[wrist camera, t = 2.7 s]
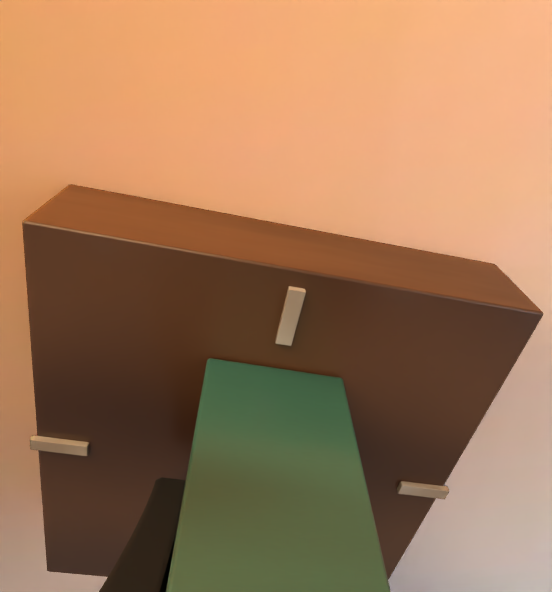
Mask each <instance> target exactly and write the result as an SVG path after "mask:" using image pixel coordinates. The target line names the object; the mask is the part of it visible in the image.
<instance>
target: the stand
mask: <svg viewBox="0 0 552 592" xmlns="http://www.w3.org/2000/svg"><path fill="white" fill-rule="evenodd" d="M22 225H23V239H24V253H25V267H26V281H27V295H28V309H29V323H30V337H31V351H32V365H33V379H34V393H35V407H36V421H37V435H38V436H34V435H32V437H31V438H30V449H31V450H39V463H40V477H41V491H42V505H43V519H44V533H45V547H46V561H47V571H50V572H61V573H72V574H83V575H95V576H106V577H108V576H109V575H110V573H111V571H112V570H113V568H114V566H115V564H116V563H117V561H118V559H119V557H120V555H121V554H122V552H123V550H124V548H125V546H126V545H127V543H128V541H129V539H130V537H131V536H132V534H133V532H134V530H135V528H136V526H137V524H138V522H139V520H140V518H141V516H142V513H143V511H144V509H145V507H146V505H147V502H148V500H149V497H150V495H151V493H152V490H153V487H154V484H155V481H156V480H157V479H159V478H161V477H163V478H172V479H180V480H186V475H187V470H188V464H189V459H190V453H191V447H192V442H193V436H194V430H195V425H196V419H197V413H198V408H199V402H200V396H201V391H202V385H203V380H204V374H205V368H206V363H207V360H208V359H209V358H213V359H220V360H226V361H233V362H240V363H246V364H253V365H260V366H266V367H273V368H279V369H286V370H293V371H299V372H306V373H313V374H319V375H326V376H333V377H339V378H342V379H343V382H344V387H345V391H346V396H347V400H348V405H349V409H350V414H351V418H352V422H353V427H354V431H355V436H356V440H357V445H358V449H359V454H360V458H361V463H362V467H363V471H364V476H365V480H366V485H367V489H368V494H369V498H370V503H371V507H372V512H373V516H374V521H375V525H376V529H377V534H378V538H379V543H380V547H381V552H382V556H383V561H384V565H385V570H386V574H387V578H388V579H389V578H390V576H391V574H392V573H393V571H394V569H395V567H396V566H397V564H398V562H399V561H400V559H401V557H402V556H403V554H404V552H405V550H406V549H407V547H408V545H409V544H410V542H411V540H412V538H413V537H414V535H415V533H416V532H417V530H418V528H419V526H420V525H421V523H422V521H423V520H424V518H425V516H426V514H427V513H428V511H429V509H430V508H431V506H432V504H433V503H434V501H435V499H436V498H438V499H445V498H446V496H447V495H448V493H449V489H448V487H446V486H443V485H444V484H445V482H446V480H447V479H448V477H449V475H450V473H451V472H452V470H453V468H454V467H455V465H456V463H457V461H458V460H459V458H460V456H461V455H462V453H463V451H464V449H465V448H466V446H467V444H468V443H469V441H470V439H471V438H472V436H473V434H474V432H475V431H476V429H477V427H478V426H479V424H480V422H481V420H482V419H483V417H484V415H485V414H486V412H487V410H488V408H489V407H490V405H491V403H492V402H493V400H494V398H495V396H496V395H497V393H498V391H499V390H500V388H501V386H502V385H503V383H504V381H505V379H506V378H507V376H508V374H509V373H510V371H511V369H512V367H513V366H514V364H515V362H516V361H517V359H518V357H519V355H520V354H521V352H522V350H523V349H524V347H525V345H526V343H527V342H528V340H529V338H530V337H531V335H532V333H533V332H534V330H535V328H536V326H537V325H538V323H539V321H540V320H541V318H542V316H543V312H542V311H541V310H540V309H539V308H538V307H537V306H536V305H535V304H534V303H533V302H532V301H531V300H530V299H529V298H528V297H527V296H526V295H525V294H524V293H523V292H522V291H521V290H520V289H519V288H518V287H517V286H516V285H515V284H514V283H513V282H512V281H511V280H510V279H509V278H508V277H507V276H506V275H505V274H504V273H503V272H502V271H501V270H500V269H499V268H498V267H497V266H496V265H495V264H491V263H486V262H480V261H475V260H470V259H464V258H459V257H454V256H448V255H443V254H438V253H432V252H427V251H422V250H417V249H411V248H406V247H401V246H395V245H390V244H385V243H379V242H374V241H369V240H363V239H358V238H353V237H347V236H342V235H337V234H332V233H326V232H321V231H316V230H310V229H305V228H300V227H294V226H289V225H284V224H278V223H273V222H268V221H262V220H257V219H252V218H247V217H241V216H236V215H231V214H225V213H220V212H215V211H209V210H204V209H199V208H193V207H188V206H183V205H177V204H172V203H167V202H162V201H156V200H151V199H146V198H140V197H135V196H130V195H124V194H119V193H114V192H108V191H103V190H98V189H92V188H87V187H82V186H76V185H68V186H67V187H66V188H64V189H63V190H62V191H61V192H59V193H58V194H57V195H55V196H54V197H53V198H52V199H50V200H49V201H48V202H46V203H45V204H44V205H43V206H41V207H40V208H39V209H37V210H36V211H35V212H34V213H32V214H31V215H30V216H29V217H27V218H26V219H25V220H23V223H22Z"/></svg>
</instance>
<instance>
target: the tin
mask: <svg viewBox="0 0 552 592" xmlns="http://www.w3.org/2000/svg"><path fill="white" fill-rule="evenodd" d="M166 592H390V587H389V583H388V578H387V574H386V570H385V565H384V561H383V556H382V552H381V547H380V543H379V538H378V534H377V529H376V525H375V521H374V516H373V512H372V507H371V503H370V498H369V494H368V489H367V485H366V480H365V476H364V471H363V467H362V463H361V458H360V454H359V449H358V445H357V440H356V436H355V431H354V427H353V422H352V418H351V414H350V409H349V405H348V400H347V396H346V391H345V387H344V382H343V379H342V378H339V377H333V376H326V375H319V374H313V373H306V372H299V371H293V370H286V369H279V368H273V367H266V366H260V365H253V364H246V363H240V362H233V361H226V360H220V359H213V358H209V359H208V360H207V363H206V368H205V374H204V380H203V385H202V391H201V396H200V402H199V408H198V413H197V419H196V425H195V430H194V436H193V442H192V447H191V453H190V459H189V464H188V470H187V475H186V481H185V487H184V492H183V498H182V504H181V509H180V515H179V521H178V526H177V532H176V538H175V543H174V549H173V554H172V560H171V566H170V571H169V577H168V583H167V588H166Z"/></svg>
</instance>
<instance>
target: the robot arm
mask: <svg viewBox="0 0 552 592" xmlns="http://www.w3.org/2000/svg"><path fill="white" fill-rule="evenodd" d="M185 481H186V480H180V479H172V478H163V477H161V478H159V479H157V480H156V481H155V484H154V487H153V490H152V493H151V495H150V497H149V500H148V502H147V505H146V507H145V509H144V511H143V513H142V516H141V518H140V520H139V522H138V524H137V526H136V528H135V530H134V532H133V534H132V536H131V537H130V539H129V541H128V543H127V545H126V546H125V548H124V550H123V552H122V554H121V555H120V557H119V559H118V561H117V563H116V564H115V566H114V568H113V570H112V571H111V573H110V575H109V576H108V578H107V580H106V581H105V583H104V585H103V586H102V588H101V589H100V591H99V592H166V588H167V583H168V577H169V571H170V566H171V560H172V554H173V549H174V543H175V538H176V532H177V526H178V521H179V515H180V509H181V504H182V498H183V492H184V487H185Z"/></svg>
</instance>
